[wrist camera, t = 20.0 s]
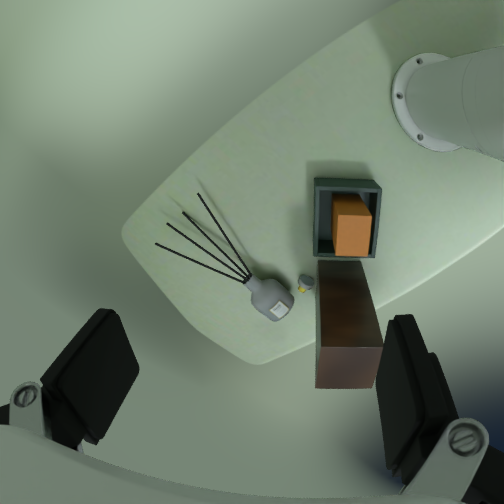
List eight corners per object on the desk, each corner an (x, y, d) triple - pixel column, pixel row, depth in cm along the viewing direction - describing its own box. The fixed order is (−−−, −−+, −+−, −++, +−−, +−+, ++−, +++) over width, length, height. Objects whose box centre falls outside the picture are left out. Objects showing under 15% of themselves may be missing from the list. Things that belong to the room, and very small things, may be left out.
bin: (373, 179, 36) (382, 188, 32) (368, 242, 40) (374, 258, 36) (314, 177, 37) (315, 186, 33) (312, 241, 41) (313, 256, 37)
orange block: (359, 194, 36) (372, 216, 29) (357, 228, 38) (367, 256, 31) (331, 193, 37) (338, 214, 30) (330, 227, 39) (335, 255, 32)
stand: (361, 261, 41) (384, 347, 26) (356, 298, 43) (371, 388, 28) (317, 260, 42) (320, 346, 27) (315, 297, 44) (315, 388, 29)
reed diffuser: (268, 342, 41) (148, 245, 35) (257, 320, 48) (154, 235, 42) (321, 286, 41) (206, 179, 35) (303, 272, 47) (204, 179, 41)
